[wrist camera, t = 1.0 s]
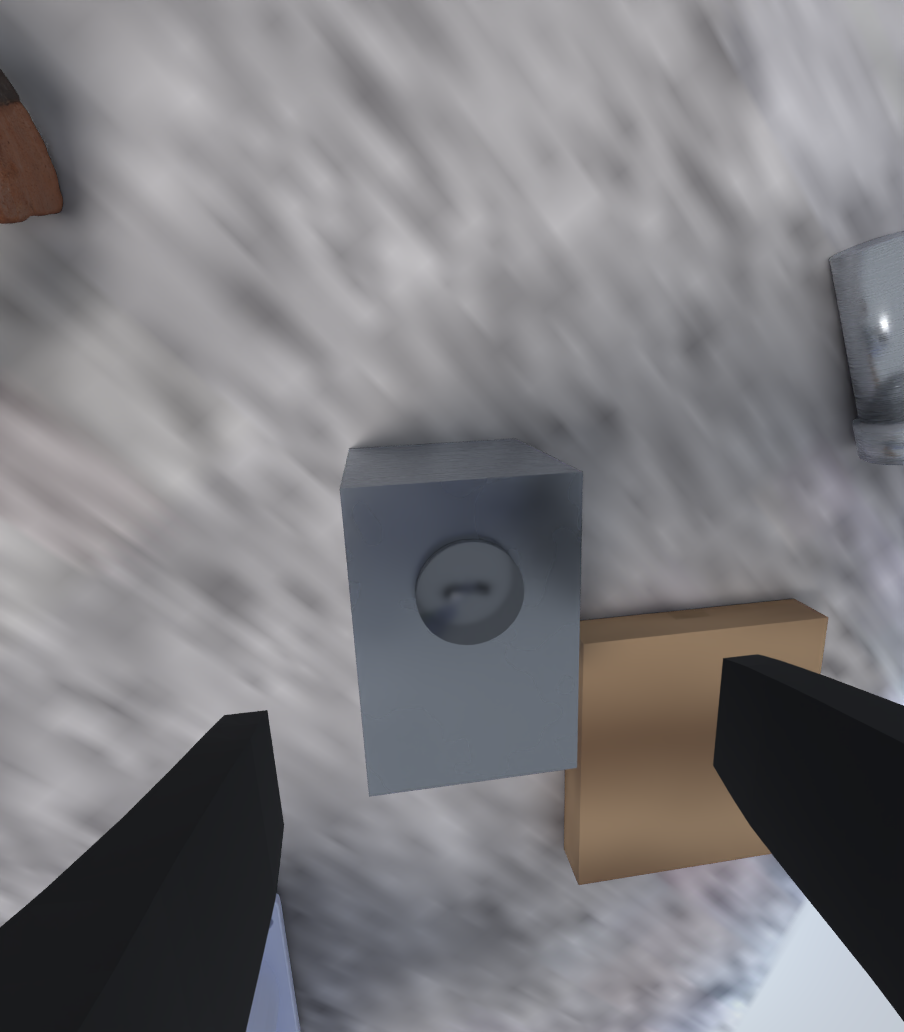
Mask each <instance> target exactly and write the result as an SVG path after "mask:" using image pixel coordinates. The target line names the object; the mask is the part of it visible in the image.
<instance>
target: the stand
mask: <svg viewBox="0 0 904 1032" xmlns="http://www.w3.org/2000/svg"><path fill="white" fill-rule="evenodd" d="M827 624H828V617H827V616H825V615H823V614H821V613H819V612H817V611H816V610H814V609H812V608H810V607H808V606H806V605H805V604H803V603H801V602H799V601H797V600H795V599H787V600H777V601H768V602H758V603H748V604H738V605H729V606H719V607H709V608H700V609H690V610H680V611H671V612H661V613H651V614H641V615H632V616H622V617H612V618H603V619H593V620H583V621H580V639H579V691H578V743H577V768H573V769H566V770H565V813H564V850H565V853H566V855H567V857H568V860H569V862H570V865H571V867H572V870H573V872H574V875H575V877H576V880H577V882H578V885H582V884H588V883H595V882H601V881H607V880H613V879H619V878H625V877H631V876H637V875H644V874H650V873H656V872H662V871H668V870H674V869H680V868H687V867H693V866H699V865H705V864H711V863H717V862H723V861H729V860H736V859H742V858H748V857H754V856H760V855H766V854H772V853H771V852H770V851H769V850H768V848H767V847H766V846H765V844H764V843H763V842H762V841H761V839H760V838H759V837H758V835H757V834H756V833H755V832H754V830H753V829H752V828H751V826H750V825H749V823H748V822H747V820H746V819H745V817H744V816H743V814H742V812H741V811H740V809H739V808H738V806H737V805H736V803H735V802H734V800H733V798H732V797H731V795H730V793H729V792H728V790H727V788H726V787H725V785H724V783H723V782H722V780H721V778H720V777H719V775H718V773H717V771H716V770H715V768H714V766H713V759H714V748H715V738H716V727H717V717H718V706H719V695H720V685H721V674H722V663H723V658H728V657H737V656H746V655H755V654H759V655H763V656H767V657H770V658H774V659H777V660H780V661H784V662H787V663H790V664H793V665H796V666H798V667H801V668H804V669H807V670H810V671H812V672H815V673H818V674H820V672H821V665H822V659H823V652H824V645H825V638H826V631H827Z"/></svg>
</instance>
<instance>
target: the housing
mask: <svg viewBox="0 0 904 1032" xmlns="http://www.w3.org/2000/svg"><path fill="white" fill-rule="evenodd" d="M582 484H583V472H582V471H580V470H578V469H576V468H574V467H572V466H570V465H568V464H566V463H564V462H562V461H560V460H558V459H556V458H554V457H552V456H550V455H548V454H546V453H544V452H542V451H540V450H538V449H536V448H534V447H532V446H530V445H528V444H526V443H524V442H522V441H520V440H518V439H500V440H483V441H467V442H450V443H434V444H417V445H401V446H385V447H368V448H352V449H349V452H348V456H347V460H346V464H345V469H344V473H343V477H342V481H341V486H340V496H341V507H342V517H343V527H344V538H345V548H346V559H347V569H348V580H349V590H350V601H351V611H352V622H353V632H354V643H355V653H356V664H357V674H358V685H359V695H360V706H361V716H362V727H363V737H364V748H365V758H366V769H367V779H368V790H369V796H376V795H384V794H391V793H398V792H406V791H413V790H420V789H427V788H435V787H442V786H449V785H457V784H464V783H471V782H479V781H486V780H493V779H500V778H508V777H515V776H522V775H530V774H537V773H544V772H551V771H559V770H566V769H573V768H577V743H578V691H579V639H580V588H581V536H582Z"/></svg>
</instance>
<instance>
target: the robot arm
mask: <svg viewBox="0 0 904 1032" xmlns="http://www.w3.org/2000/svg"><path fill="white" fill-rule="evenodd" d="M713 766H714V768H715V770H716V771H717V773H718V775H719V777H720V778H721V780H722V782H723V783H724V785H725V787H726V788H727V790H728V792H729V793H730V795H731V797H732V798H733V800H734V802H735V803H736V805H737V806H738V808H739V809H740V811H741V812H742V814H743V816H744V817H745V819H746V820H747V822H748V823H749V825H750V826H751V828H752V829H753V830H754V832H755V833H756V834H757V835H758V837H759V838H760V839H761V841H762V842H763V843H764V844H765V846H766V847H767V848H768V850H769V851H770V852H771V853H772V855H773V856H774V857H775V858H776V860H777V861H778V862H779V864H780V865H781V866H782V867H783V869H784V870H785V871H786V872H787V874H788V875H789V876H790V877H791V879H792V880H793V881H794V882H795V884H796V885H797V886H798V887H799V889H800V890H801V891H802V892H803V894H804V895H805V896H806V897H807V899H808V900H809V901H810V902H811V904H812V905H813V906H814V907H815V908H816V910H817V911H818V912H819V913H820V915H821V916H822V917H823V919H824V920H825V921H826V922H827V924H828V925H829V926H830V927H831V928H832V930H833V931H834V932H835V933H836V935H837V936H838V937H839V938H840V940H841V941H842V942H843V943H844V945H845V946H846V947H847V948H848V950H849V951H850V952H851V953H852V955H853V956H854V957H855V958H856V960H857V961H858V962H859V963H860V965H861V966H862V967H863V968H864V970H865V971H866V972H867V973H868V975H869V976H870V977H871V978H872V980H873V981H874V982H875V984H876V985H877V986H878V988H879V989H880V990H881V992H882V993H883V994H884V996H885V997H886V998H887V1000H888V1001H889V1002H890V1004H891V1005H892V1006H893V1008H894V1009H895V1010H896V1012H897V1013H898V1014H899V1016H900V1017H901V1018H902V1020H903V1021H904V706H903V705H900V704H898V703H895V702H892V701H890V700H887V699H884V698H882V697H879V696H876V695H874V694H871V693H869V692H866V691H863V690H861V689H858V688H855V687H853V686H850V685H847V684H845V683H842V682H839V681H837V680H834V679H831V678H829V677H826V676H823V675H821V674H818V673H815V672H812V671H810V670H807V669H804V668H801V667H798V666H796V665H793V664H790V663H787V662H784V661H780V660H777V659H774V658H770V657H767V656H763V655H759V654H755V655H746V656H737V657H728V658H723V663H722V674H721V685H720V695H719V706H718V717H717V727H716V738H715V748H714V759H713ZM283 829H284V822H283V815H282V808H281V801H280V795H279V788H278V781H277V774H276V767H275V760H274V753H273V746H272V740H271V733H270V726H269V719H268V712H267V710H266V711H257V712H248V713H239V714H231V715H224V716H223V717H222V718H221V719H220V720H219V721H218V722H217V723H216V724H215V725H214V726H213V727H212V728H211V729H210V730H209V731H208V732H207V733H206V734H205V735H204V736H203V737H202V738H201V739H200V740H199V741H198V742H197V743H196V744H195V745H194V746H193V747H192V748H191V749H190V750H189V751H188V753H187V754H186V755H185V756H184V757H183V758H182V759H181V760H180V761H179V762H178V763H177V764H176V765H175V766H174V767H173V768H172V769H171V770H170V771H169V772H168V773H167V774H166V775H165V776H164V777H163V778H162V779H161V780H160V781H159V782H158V783H157V784H156V785H155V786H154V787H153V788H152V789H151V790H150V791H149V792H148V793H147V794H146V795H145V796H144V797H143V798H142V799H141V800H140V801H139V802H138V803H137V804H136V805H135V806H134V807H133V808H132V809H131V810H130V811H129V812H128V813H127V814H126V815H125V816H124V817H123V818H122V819H121V820H120V821H119V822H118V823H116V824H115V825H114V826H113V827H112V828H111V829H110V830H109V831H108V832H107V833H106V834H104V835H103V836H102V837H101V838H100V839H99V840H98V841H97V842H96V843H95V844H94V845H93V846H91V847H90V848H89V849H88V850H87V851H86V852H85V853H84V854H83V855H82V856H81V857H80V858H78V859H77V860H76V861H75V862H74V863H73V864H72V865H71V866H70V867H69V868H68V869H66V870H65V871H64V872H63V873H62V874H61V875H60V876H59V877H58V878H57V879H56V880H55V881H53V882H52V883H51V884H50V885H49V886H48V887H47V888H46V889H45V890H43V891H42V892H41V893H40V894H39V895H38V896H37V897H35V898H34V899H33V900H32V901H31V902H30V903H28V904H27V905H26V906H25V907H24V908H23V909H21V910H20V911H19V912H18V913H17V914H16V915H14V916H13V917H12V918H11V919H10V920H8V921H7V922H6V923H5V924H4V925H2V926H1V927H0V1032H301V1030H300V1024H299V1017H298V1011H297V1004H296V998H295V991H294V985H293V978H292V971H291V965H290V958H289V952H288V945H287V939H286V932H285V926H284V919H283V913H282V906H281V900H280V897H279V895H278V894H277V893H276V891H277V883H278V875H279V867H280V858H281V848H282V839H283Z"/></svg>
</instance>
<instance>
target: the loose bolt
mask: <svg viewBox="0 0 904 1032" xmlns="http://www.w3.org/2000/svg"><path fill="white" fill-rule="evenodd" d="M829 260H830V265H831V271H832V276H833V282H834V287H835V293H836V298H837V303H838V309H839V314H840V320H841V325H842V331H843V336H844V341H845V347H846V352H847V358H848V363H849V369H850V374H851V380H852V385H853V390H854V396H855V401H856V407H857V412H858V416H857V417H856V418H855V419H854V421H853V423H852V425H853V431H854V436H855V441H856V447H857V452H858V456H859V457H860V458H861V459H862V460H864V461H867V462H870V463H874V464H883V465H903V464H904V231H901V232H897V233H894V234H890V235H887V236H883V237H880V238H877V239H874V240H871V241H868V242H865V243H862V244H860V245H857V246H854V247H852V248H849V249H847V250H844V251H842V252H840V253H838V254H835V255H834V256H832V257H830V258H829Z"/></svg>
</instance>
